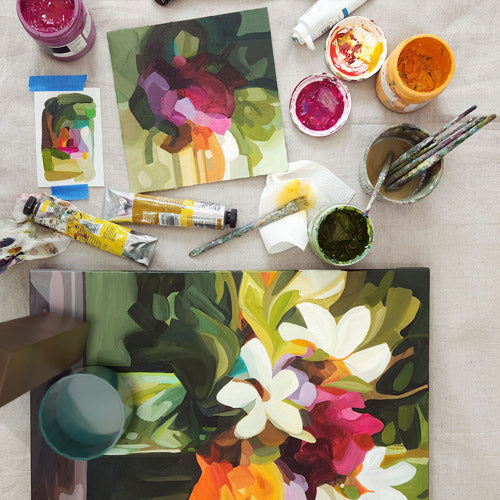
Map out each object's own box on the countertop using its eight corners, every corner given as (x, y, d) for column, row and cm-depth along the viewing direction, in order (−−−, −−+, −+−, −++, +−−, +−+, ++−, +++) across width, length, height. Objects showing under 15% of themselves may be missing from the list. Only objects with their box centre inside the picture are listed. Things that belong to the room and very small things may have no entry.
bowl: (45, 435, 69) (29, 449, 64) (65, 356, 69) (50, 363, 64) (123, 455, 69) (112, 470, 64) (142, 375, 69) (134, 384, 64)
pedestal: (36, 349, 69) (-72, 394, 46) (46, 311, 69) (-57, 335, 46) (81, 361, 69) (-4, 410, 46) (90, 322, 69) (10, 352, 46)
